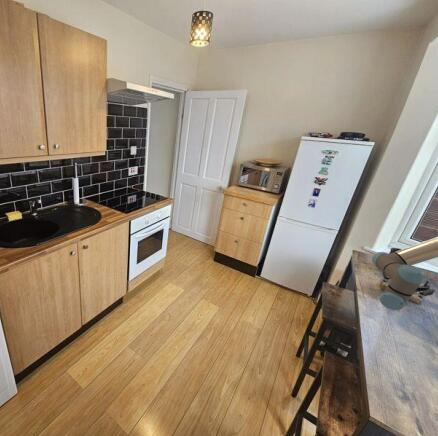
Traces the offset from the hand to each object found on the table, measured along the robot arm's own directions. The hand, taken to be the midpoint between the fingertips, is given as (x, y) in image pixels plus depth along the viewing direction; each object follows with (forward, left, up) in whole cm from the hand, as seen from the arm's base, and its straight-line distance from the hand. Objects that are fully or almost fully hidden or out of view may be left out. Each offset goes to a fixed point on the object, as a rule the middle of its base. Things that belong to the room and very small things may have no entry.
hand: (410, 276), depth 118 cm
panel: (0, +4, -9) cm, 10 cm away
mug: (+6, -27, -9) cm, 29 cm away
